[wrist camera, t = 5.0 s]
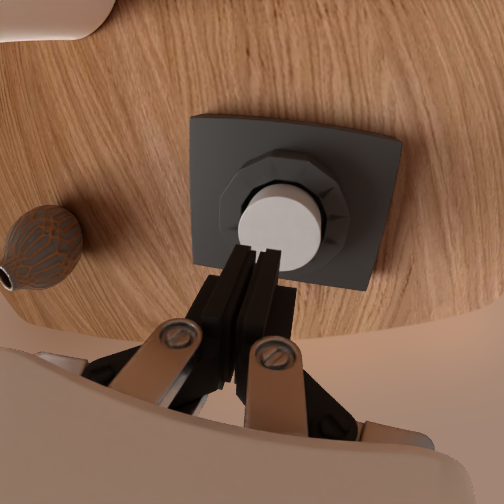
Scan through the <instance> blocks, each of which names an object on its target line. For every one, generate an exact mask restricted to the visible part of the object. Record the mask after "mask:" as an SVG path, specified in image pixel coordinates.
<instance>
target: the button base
mask: <svg viewBox="0 0 504 504" xmlns="http://www.w3.org/2000/svg"><path fill="white" fill-rule="evenodd" d="M402 145H403V143H402V142H401V141H400V140H398V139H396V138H395V137H392V136H388V135H383V134H378V133H373V132H368V131H363V130H358V129H353V128H347V127H341V126H335V125H328V124H322V123H314V122H307V121H299V120H290V119H280V118H270V117H257V116H242V115H221V114H200V115H196V116H192V117H190V203H191V231H192V252H193V264H196V265H202V266H207V267H213V268H219V269H224V267H225V265H226V263H227V261H228V259H229V257H230V255H231V253H232V251H233V249H234V247H235V245H236V244H240V241H239V236H238V227H239V222H240V219H241V217H242V215H243V213H244V211H245V210H246V208H247V206H248V205H249V203H250V202H251V200H252V198H253V197H254V196H255V195H256V194H257V193H258V192H259V191H260V190H262V189H263V188H265V187H267V186H270V185H274V184H290V185H294V186H297V187H299V188H301V189H303V190H304V191H306V192H307V193H308V194H310V195H311V196H312V198H313V199H314V200H315V202H316V203H317V205H318V207H319V210H320V214H321V242H320V246H319V248H318V251H317V253H316V254H315V256H314V257H313V258H312V259H311V260H310V261H309V262H308V263H307V264H305V265H304V266H302V267H300V268H297V269H294V270H290V271H279V277H278V278H280V279H286V280H292V281H299V282H305V283H312V284H318V285H325V286H331V287H338V288H345V289H352V290H359V291H366V290H367V287H368V284H369V280H370V277H371V274H372V271H373V267H374V264H375V261H376V257H377V254H378V250H379V247H380V243H381V240H382V236H383V232H384V228H385V224H386V221H387V217H388V212H389V208H390V204H391V200H392V195H393V191H394V186H395V182H396V177H397V172H398V167H399V162H400V156H401V151H402Z"/></svg>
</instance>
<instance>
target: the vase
mask: <svg viewBox="0 0 504 504" xmlns="http://www.w3.org/2000/svg"><path fill="white" fill-rule="evenodd" d="M82 249H83V234H82V230H81V227H80V224H79V222H78V220H77V219H76V218H75V216H74V215H73V214H72V213H70V212H69V211H68V210H66V209H64V208H62V207H60V206H56V205H44V206H39V207H36V208H34V209H32V210H30V211H28V212H27V213H25V214H24V215H22V216H21V217H20V218H19V219H18V220H17V221H16V222H15V224H14V225H13V226H12V228H11V229H10V231H9V233H8V235H7V238H6V241H5V244H4V248H3V253H2V257H1V259H0V281H1V283H2V284H3V286H4V287H5V288H6V289H7V290H9V291H16V290H20V289H27V290H44V289H47V288H50V287H53V286H55V285H57V284H58V283H60V282H61V281H63V280H64V279H65V278H66V277H67V276H68V275H69V274H70V273H71V272H72V271H73V270H74V268H75V266H76V265H77V263H78V261H79V259H80V257H81V254H82Z"/></svg>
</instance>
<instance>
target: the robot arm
mask: <svg viewBox="0 0 504 504" xmlns="http://www.w3.org/2000/svg"><path fill="white" fill-rule="evenodd" d="M280 261H281V250H276V249H269V248H267V249H266V252H262V251H260V254H259V257H258V259H257V262H256V251H255V250H251V246H248V245H241V244H236V245H235V247H234V249H233V251H232V253H231V255H230V257H229V259H228V261H227V263H226V265H225V267H224V269H223V271H222V273H221V275H220V276H216V275H209V276H208V277H207V279H206V280H205V282H204V284H203V286H202V288H201V289H200V291H199V293H198V295H197V297H196V299H195V300H194V302H193V304H192V306H191V308H190V310H189V312H188V313H187V315H186V317H185V318H174V319H170V320H167V321H165V322H163V323H162V324H160V325H159V326H158V327H157V328H156V329H155V331H154V332H153V333H152V334H151V335H150V336H149V338H148V339H147V340H146V341H145V342H144V343H143V345H140V346H137V347H134V348H131V349H128V350H125V351H122V352H119V353H115V354H112V355H109V356H106V357H103V358H100V359H97V360H95V361H93V362H91V363H88V360H86V359H80V358H74V357H69V356H63V355H58V354H53V353H48V352H38V353H35V354H30V353H27V352H24V351H21V350H16V349H12V348H3V347H0V504H476V502H475V495H474V491H473V486H472V482H471V479H470V477H469V474H468V472H467V471H466V470H465V468H464V466H463V465H462V464H461V463H459V462H458V461H457V460H455V459H453V458H451V457H450V456H448V455H445V454H442V453H440V452H438V451H435V450H434V445H433V442H432V440H431V439H430V438H428V436H426V435H424V434H422V433H419V432H414V431H409V430H404V429H399V428H395V427H390V426H386V425H381V424H378V423H374V422H369V421H366V422H365V423H361V422H357V421H356V420H355V419H354V418H353V417H352V415H351V414H350V413H349V412H348V411H346V410H345V409H344V408H343V407H342V406H341V405H340V404H339V403H338V402H337V401H336V400H335V399H334V398H333V397H332V396H330V395H329V394H328V393H327V392H326V391H325V390H324V389H323V388H322V387H321V386H320V385H319V384H318V383H317V382H316V381H315V380H314V379H313V378H312V377H311V376H310V375H309V374H308V373H307V372H306V371H305V370H303V364H302V355H301V351H300V349H299V348H298V346H297V345H296V344H295V343H294V342H292V341H291V340H290V337H291V330H292V322H293V315H294V307H295V299H296V291H297V288H292V287H285V286H278V285H277V284H278V277H279V269H280ZM234 369H235V380H234V383H235V384H236V395H237V396H238V397H239V399H240V400H241V401H242V402H243V404H244V405H245V416H244V427H239V426H234V425H229V424H225V423H220V422H216V421H212V420H208V419H204V418H200V417H197V416H198V414H199V413H200V411H201V409H202V408H203V406H204V404H205V402H206V400H207V398H208V394H209V393H212V392H214V391H216V390H217V389H221V390H222V389H223V386H224V383H225V382H231V379H232V376H233V373H234Z"/></svg>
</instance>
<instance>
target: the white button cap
mask: <svg viewBox="0 0 504 504" xmlns="http://www.w3.org/2000/svg"><path fill="white" fill-rule="evenodd" d="M238 236H239V241H240V244H241V245H248V246H251V250H255V251H256V262H257V259H258V257H259V254H260V251H262V252H266V249H267V248H269V249H276V250H281V261H280V269H279V271H290V270H294V269H297V268H300V267H302V266H304V265H305V264H307V263H308V262H309V261H310V260H311V259H312V258H313V257H314V256H315V254H316V253H317V251H318V248H319V246H320V242H321V214H320V210H319V207H318V205H317V203H316V202H315V200H314V199H313V198H312V196H311V195H310V194H308V193H307V192H306V191H304V190H303V189H301V188H299V187H297V186H294V185H290V184H274V185H270V186H267V187H265V188H263V189H262V190H260V191H259V192H258V193H257V194H256V195H255V196H254V197H253V198H252V200H251V202H250V203H249V205H248V206H247V208H246V210H245V211H244V213H243V215H242V217H241V219H240V222H239V227H238Z"/></svg>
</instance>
